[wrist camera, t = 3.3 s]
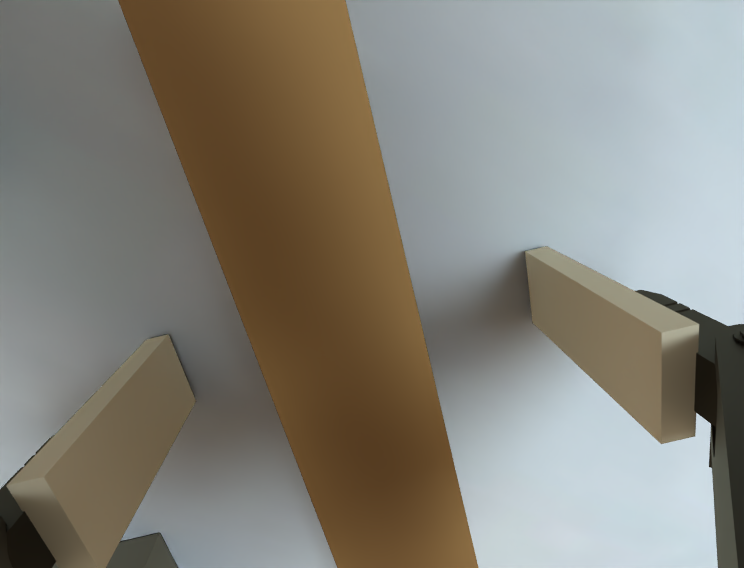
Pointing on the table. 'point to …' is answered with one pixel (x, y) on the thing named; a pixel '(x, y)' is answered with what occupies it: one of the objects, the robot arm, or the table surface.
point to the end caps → (141, 554)
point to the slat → (312, 261)
